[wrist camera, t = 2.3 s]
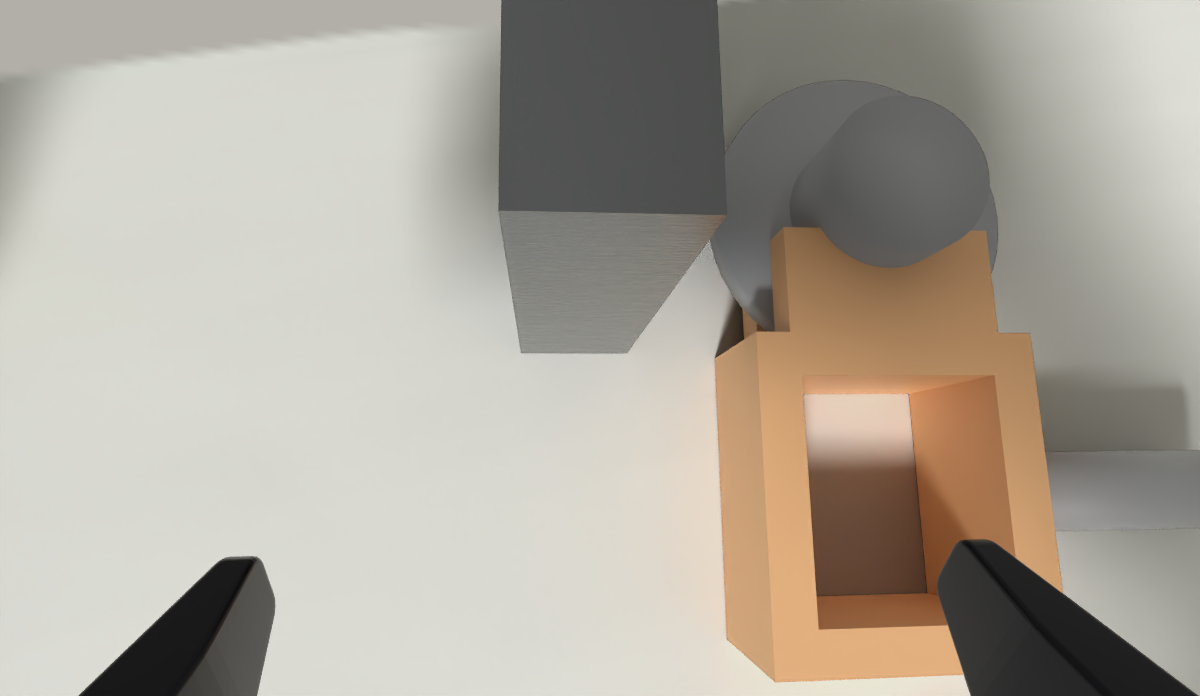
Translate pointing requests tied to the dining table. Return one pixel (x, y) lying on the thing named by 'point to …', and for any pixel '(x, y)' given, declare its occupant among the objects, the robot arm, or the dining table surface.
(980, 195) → the bracket head
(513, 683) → the dining table surface
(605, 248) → the dark grey long block
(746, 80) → the dining table surface
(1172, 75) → the dining table surface
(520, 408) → the dining table surface
